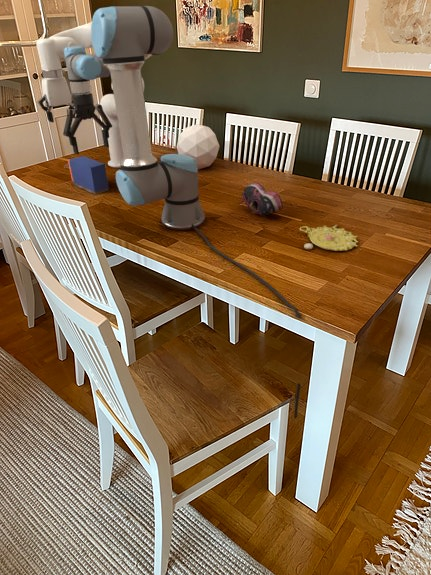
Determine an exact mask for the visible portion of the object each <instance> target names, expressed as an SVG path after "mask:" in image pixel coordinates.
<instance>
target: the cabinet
mask: <svg viewBox="0 0 431 575" xmlns="http://www.w3.org/2000/svg"><path fill="white" fill-rule="evenodd" d="M68 160H70V165H71V170H72V175H73V179H74V182H73V184H74V186H75V187H77V188H80V189H82V190H85V191H87V192H89V193H92V194H94V195H99V194H101V193H105V192H108V191H110V188H109V182H108V175H107V169H106V164H105V163H103V162H100V161H98V160H95V159H92V158H89V157H87V156H85V155H82V156H78V157H74V158H69V159H68Z"/></svg>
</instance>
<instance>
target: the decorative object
mask: <svg viewBox="0 0 431 575" xmlns="http://www.w3.org/2000/svg"><path fill="white" fill-rule="evenodd" d="M303 228H304V229H305V230H304V229H303ZM299 231H300V232H303V233H305V234H307V237H308V238H309V240H310V241H311V243H304V244H303V248H304V249H305V250H313V249H314V245H315V246H316V247H318V248H321V249H324V250H328V251H335V252H341V251H348V250H352V249H354V247H356V248H358V247H359V245H358V244H357V243H359V240H357V238H359V237H358V235H353V234H352V231H347V230H346V229H345V228H344V227H342V228H338V224H335V225H333V226H331V227H328V226H327V225H326V224H325V225H323V226H322V227H321V226H317V227H316V228H314V227H309V226H308V225H302V226H300V227H299ZM313 244H314V245H313Z"/></svg>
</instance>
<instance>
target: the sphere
mask: <svg viewBox="0 0 431 575" xmlns="http://www.w3.org/2000/svg"><path fill="white" fill-rule="evenodd" d="M220 147H221V146H220V144H219V141H218V139H217V136H216V133H215V132H214V131H213V130H212V128H210V127H209V126H206V125H202V124H198V123H197V124H196V123H195V124H194V125H190V126H187V127H185V128H184V129H183V131H182V132H181V133H180V134H179V135H178V139H177V143H176V148H175V149H176V150H177V154H180V155H186V156H190V157H192V158H194V159H195V160H196V163H197V170H201V169H204V168H207V167H210V166H211V165H213V162H215V160H216V159H217V157H218V153H219V150H220Z"/></svg>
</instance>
